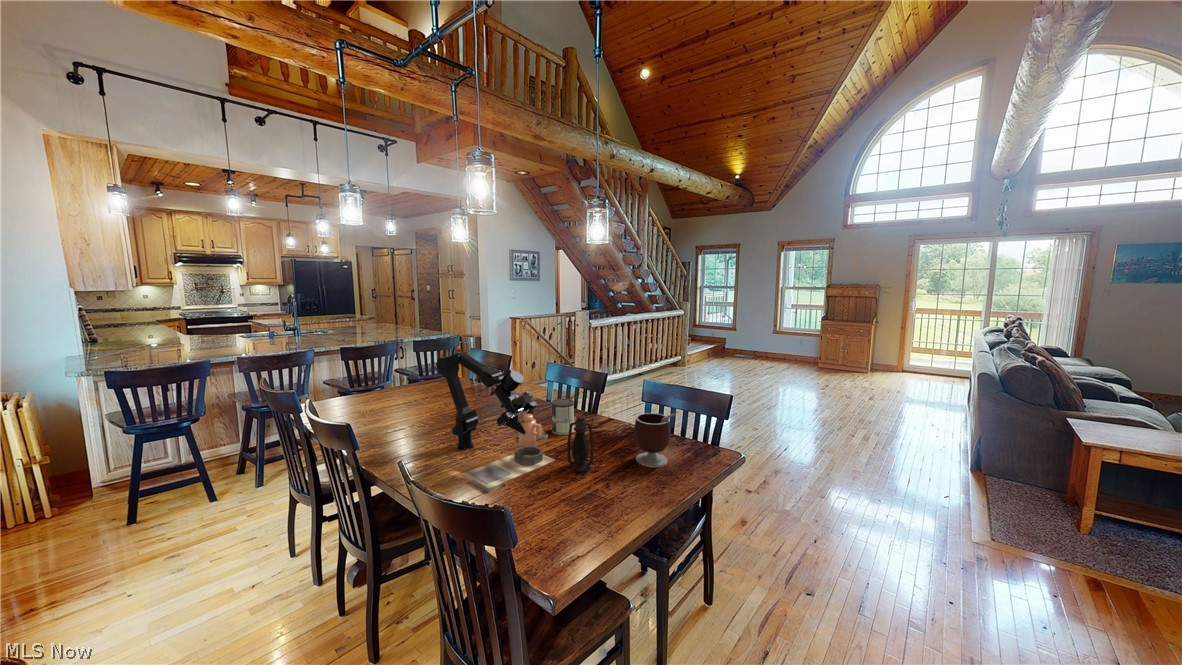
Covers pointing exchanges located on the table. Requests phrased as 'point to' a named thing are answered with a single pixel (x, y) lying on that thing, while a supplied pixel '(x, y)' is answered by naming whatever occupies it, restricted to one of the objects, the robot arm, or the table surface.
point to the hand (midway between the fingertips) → (530, 430)
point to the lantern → (580, 444)
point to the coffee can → (562, 416)
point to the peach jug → (529, 430)
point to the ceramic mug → (544, 435)
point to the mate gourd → (652, 438)
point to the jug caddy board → (507, 468)
